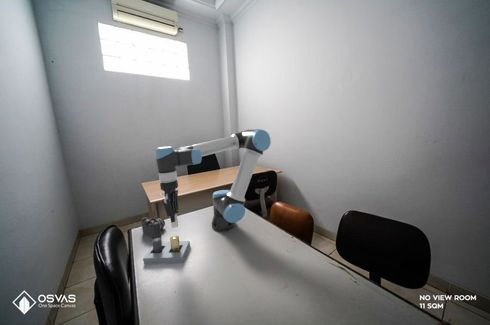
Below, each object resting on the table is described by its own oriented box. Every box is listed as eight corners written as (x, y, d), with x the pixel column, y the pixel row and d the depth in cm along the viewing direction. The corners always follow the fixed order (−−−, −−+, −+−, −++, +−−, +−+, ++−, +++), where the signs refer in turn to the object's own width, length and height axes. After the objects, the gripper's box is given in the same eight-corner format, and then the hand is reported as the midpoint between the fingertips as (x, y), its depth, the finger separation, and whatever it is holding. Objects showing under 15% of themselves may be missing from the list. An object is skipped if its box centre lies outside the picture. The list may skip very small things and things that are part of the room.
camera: (171, 230, 108) (170, 215, 106) (155, 240, 99) (153, 224, 97) (156, 225, 115) (154, 211, 113) (140, 234, 105) (138, 218, 103)
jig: (190, 245, 93) (188, 232, 91) (182, 262, 81) (181, 247, 80) (156, 247, 93) (154, 233, 91) (143, 264, 81) (141, 248, 79)
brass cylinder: (181, 249, 89) (179, 235, 87) (178, 254, 85) (177, 240, 83) (173, 249, 89) (171, 235, 87) (170, 255, 85) (168, 240, 83)
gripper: (166, 176, 86) (172, 220, 91) (153, 185, 73) (161, 235, 78) (181, 176, 86) (186, 219, 91) (171, 184, 73) (177, 234, 78)
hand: (174, 226), depth 84 cm, fingers closed
